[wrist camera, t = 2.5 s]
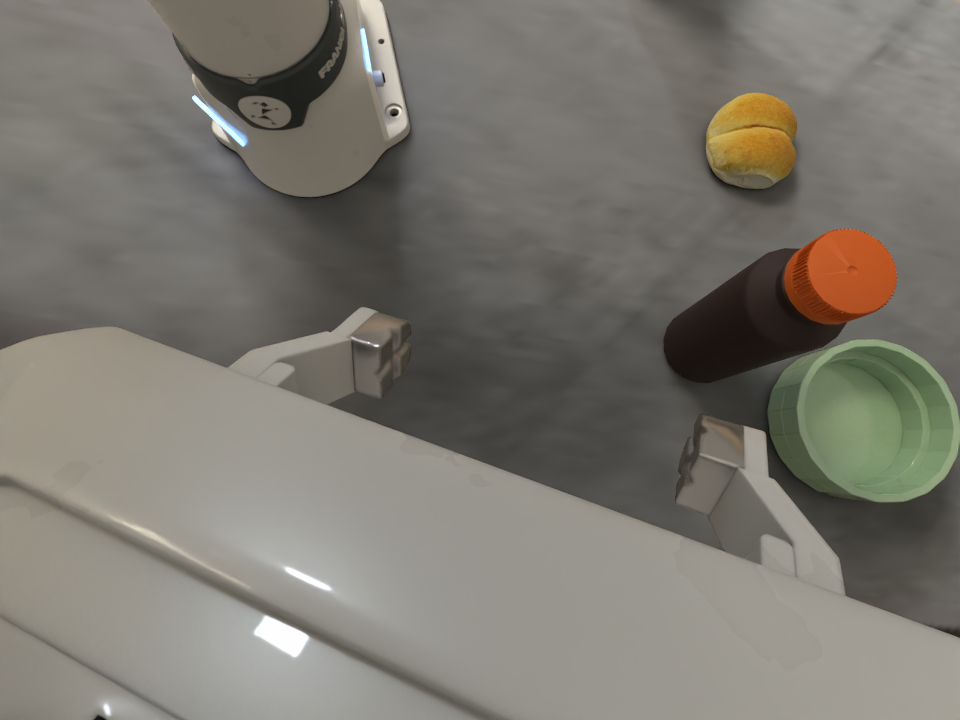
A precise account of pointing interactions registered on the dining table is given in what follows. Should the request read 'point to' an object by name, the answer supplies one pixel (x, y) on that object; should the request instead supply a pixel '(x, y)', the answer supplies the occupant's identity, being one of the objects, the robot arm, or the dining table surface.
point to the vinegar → (781, 306)
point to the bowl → (865, 422)
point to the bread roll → (752, 141)
